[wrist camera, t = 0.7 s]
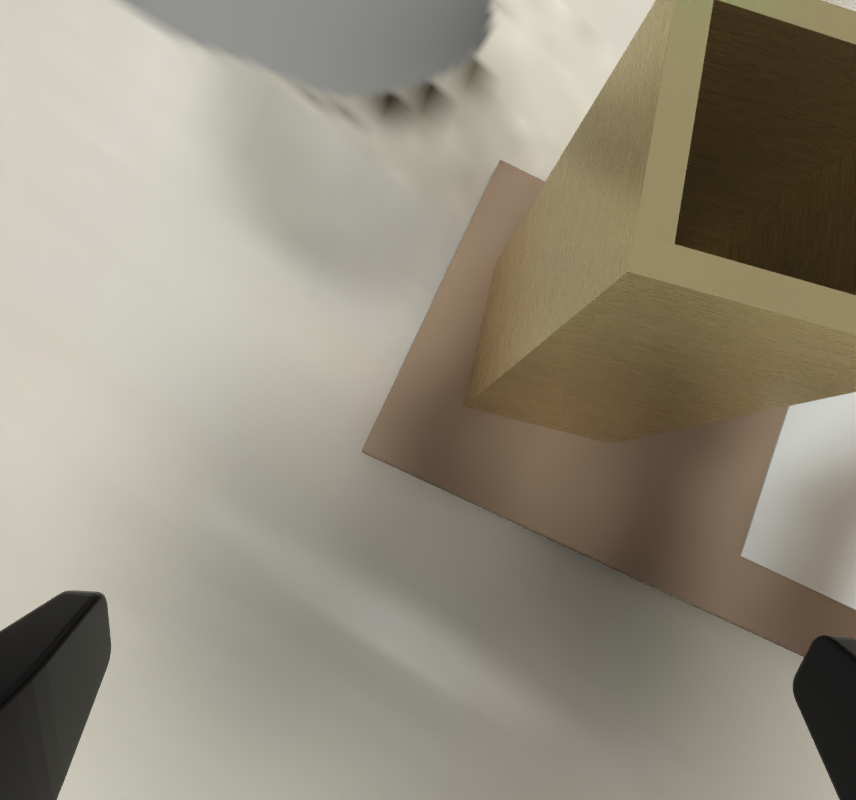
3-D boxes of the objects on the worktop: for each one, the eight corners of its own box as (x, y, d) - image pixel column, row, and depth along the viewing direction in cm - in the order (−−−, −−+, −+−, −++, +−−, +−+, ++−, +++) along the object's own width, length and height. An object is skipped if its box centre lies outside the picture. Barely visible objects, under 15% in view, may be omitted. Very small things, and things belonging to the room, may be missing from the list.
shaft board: (983, 411, 24) (1117, 393, 20) (910, 705, 22) (1045, 756, 17) (495, 171, 23) (527, 97, 19) (361, 452, 21) (364, 440, 16)
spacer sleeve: (610, 443, 21) (972, 367, 9) (463, 406, 20) (627, 271, 8) (634, 302, 22) (990, 55, 10) (495, 264, 22) (683, -45, 9)
